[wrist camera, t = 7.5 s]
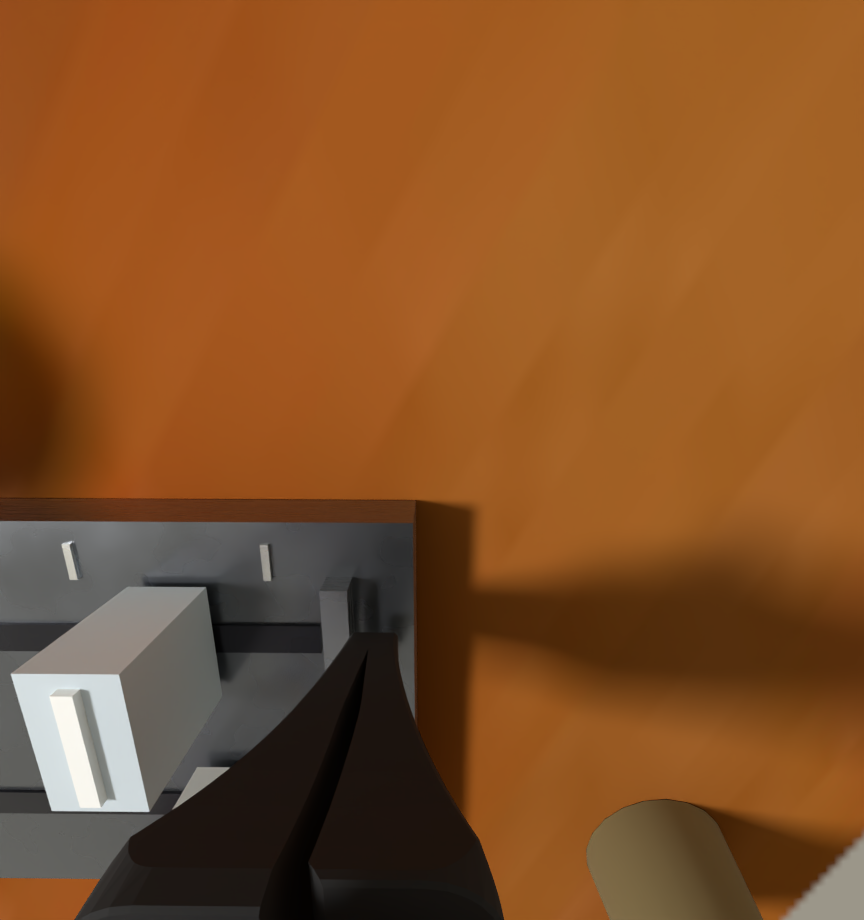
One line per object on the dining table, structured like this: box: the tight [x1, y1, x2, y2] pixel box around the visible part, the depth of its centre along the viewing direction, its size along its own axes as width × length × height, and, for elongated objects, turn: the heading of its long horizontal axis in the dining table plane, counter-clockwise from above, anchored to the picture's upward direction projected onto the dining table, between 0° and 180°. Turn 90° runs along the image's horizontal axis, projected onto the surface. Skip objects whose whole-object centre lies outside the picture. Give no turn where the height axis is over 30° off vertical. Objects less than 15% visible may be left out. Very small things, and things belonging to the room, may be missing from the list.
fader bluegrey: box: [11, 587, 222, 812], centre depth 11 cm, size 4×2×4 cm, turn 0°
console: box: [0, 498, 418, 879], centre depth 15 cm, size 15×21×3 cm
